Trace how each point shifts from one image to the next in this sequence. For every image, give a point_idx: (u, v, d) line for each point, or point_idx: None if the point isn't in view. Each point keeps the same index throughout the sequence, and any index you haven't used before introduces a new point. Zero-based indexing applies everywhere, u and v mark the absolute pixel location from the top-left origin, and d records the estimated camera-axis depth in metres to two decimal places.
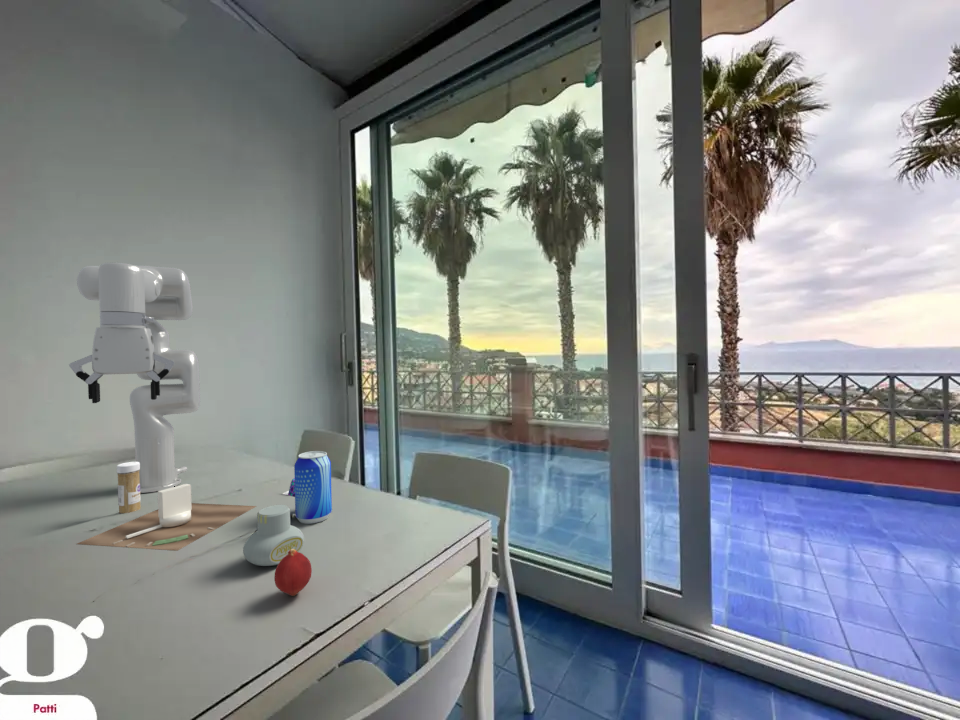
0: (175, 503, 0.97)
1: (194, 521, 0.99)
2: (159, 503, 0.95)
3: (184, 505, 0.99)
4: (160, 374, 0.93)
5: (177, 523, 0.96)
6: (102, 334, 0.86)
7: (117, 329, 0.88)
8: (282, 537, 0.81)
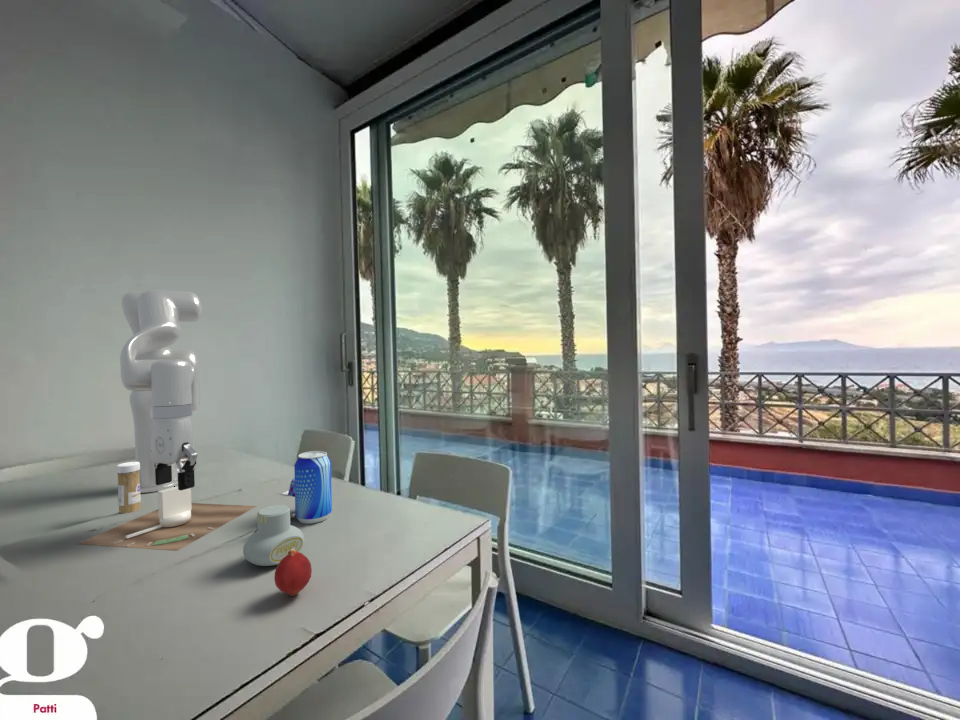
0: (175, 503, 0.97)
1: (194, 521, 0.99)
2: (159, 503, 0.95)
3: (184, 505, 0.99)
4: None
5: (177, 523, 0.96)
6: None
7: None
8: (282, 537, 0.81)
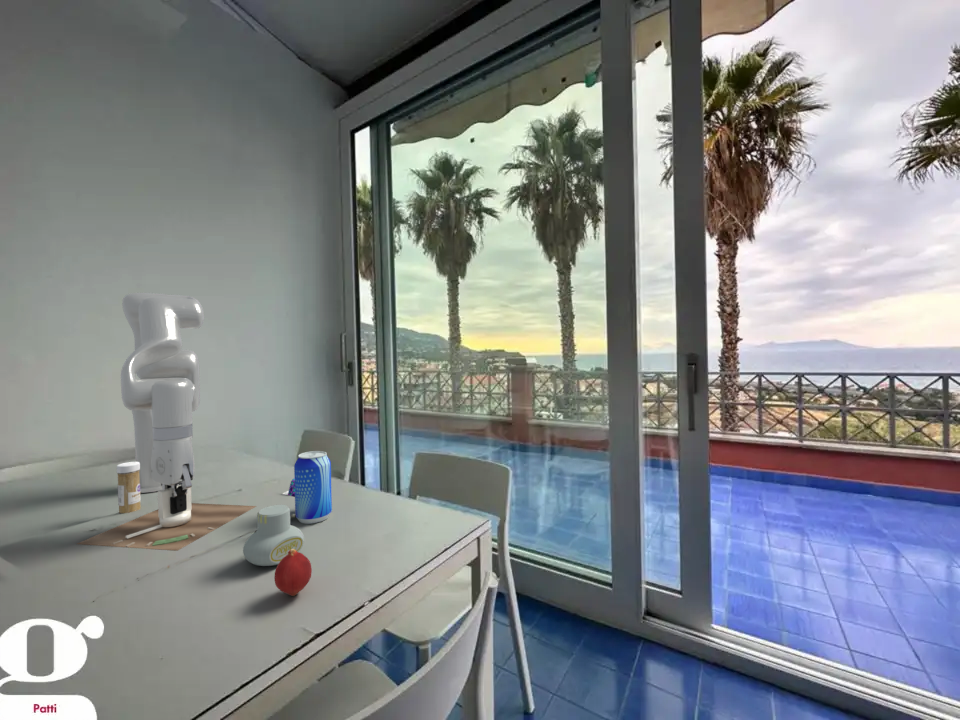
0: None
1: (194, 521, 0.99)
2: (159, 503, 0.95)
3: None
4: None
5: (177, 523, 0.96)
6: None
7: None
8: (282, 537, 0.81)
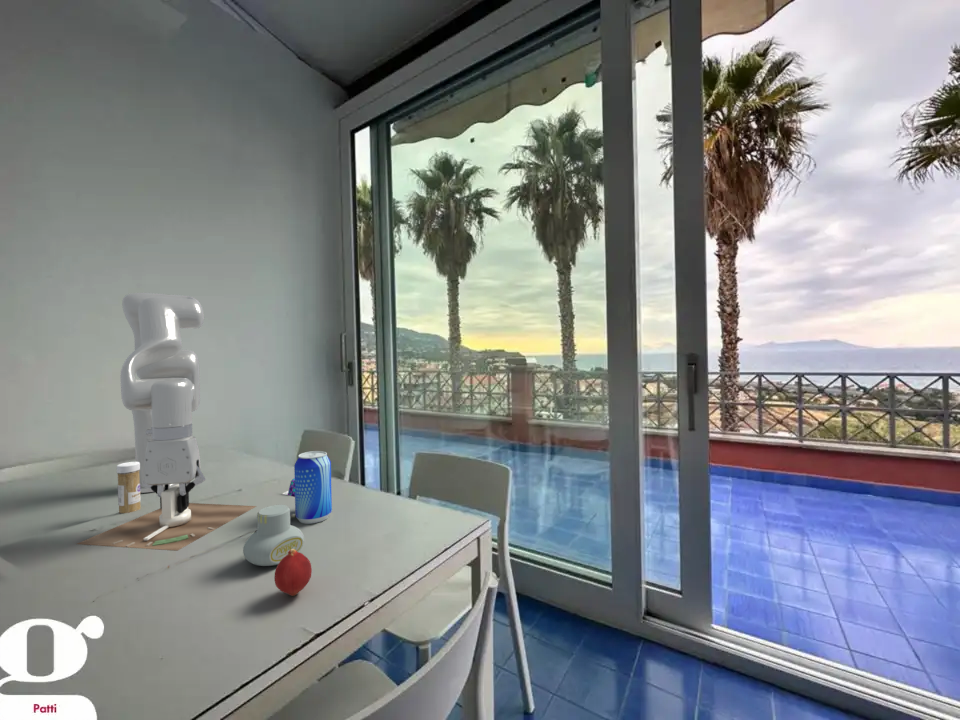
0: None
1: (194, 521, 0.99)
2: (164, 504, 0.95)
3: None
4: None
5: (185, 521, 0.97)
6: None
7: None
8: (282, 537, 0.81)
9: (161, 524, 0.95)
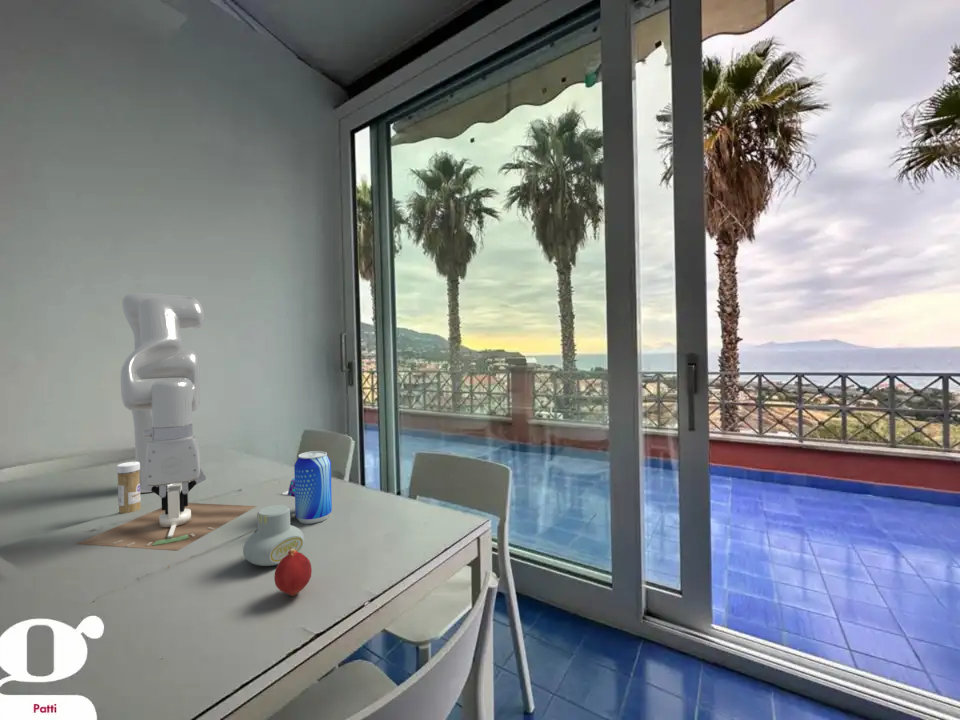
0: None
1: (194, 521, 0.99)
2: (171, 503, 0.95)
3: None
4: None
5: (189, 518, 0.98)
6: None
7: None
8: (282, 537, 0.81)
9: (166, 524, 0.95)
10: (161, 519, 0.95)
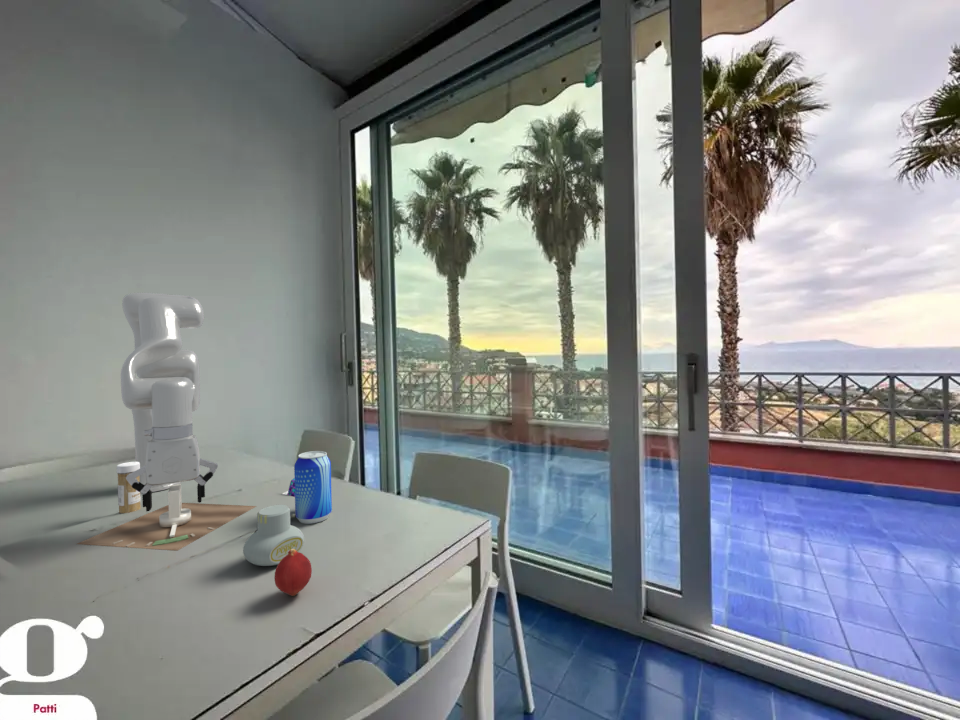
0: (180, 502, 0.98)
1: (194, 521, 0.99)
2: (171, 503, 0.95)
3: None
4: None
5: (189, 518, 0.99)
6: None
7: None
8: (282, 537, 0.81)
9: (166, 524, 0.95)
10: (161, 519, 0.95)
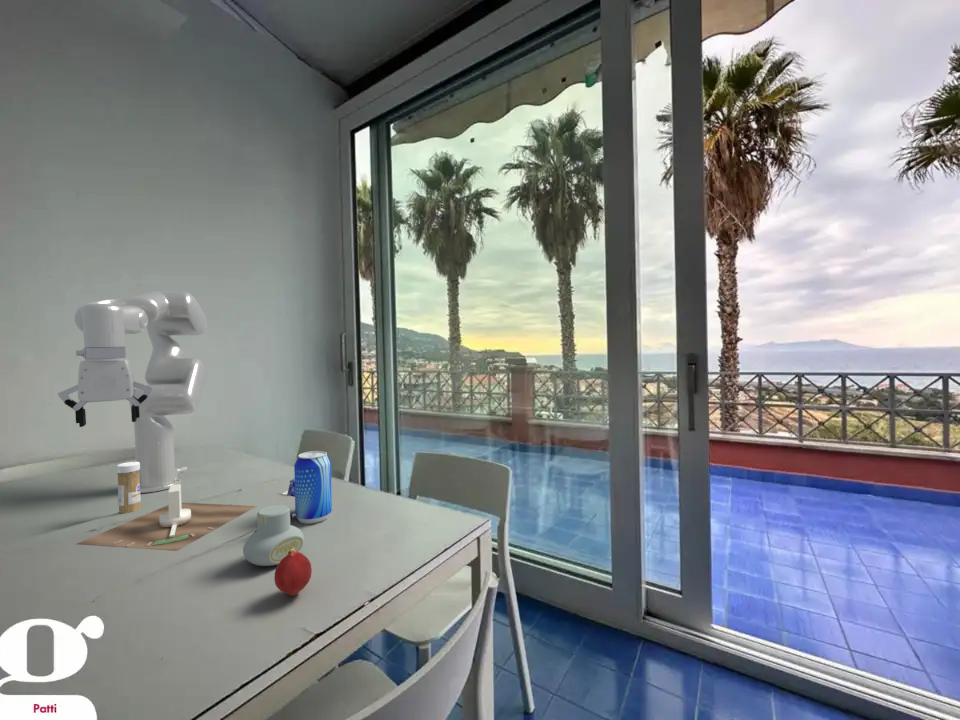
0: (180, 502, 0.98)
1: (194, 521, 0.99)
2: (171, 503, 0.95)
3: None
4: None
5: (189, 518, 0.99)
6: None
7: None
8: (282, 537, 0.81)
9: (166, 524, 0.95)
10: (161, 519, 0.95)
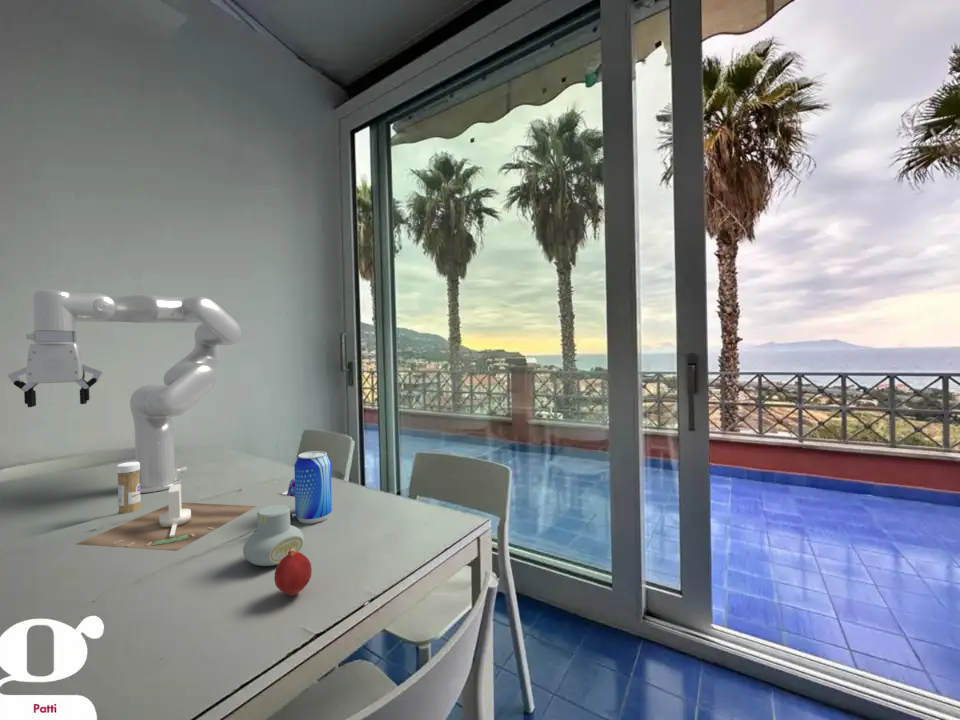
0: (180, 502, 0.98)
1: (194, 521, 0.99)
2: (171, 503, 0.95)
3: None
4: None
5: (189, 518, 0.99)
6: None
7: None
8: (282, 537, 0.81)
9: (166, 524, 0.95)
10: (161, 519, 0.95)
